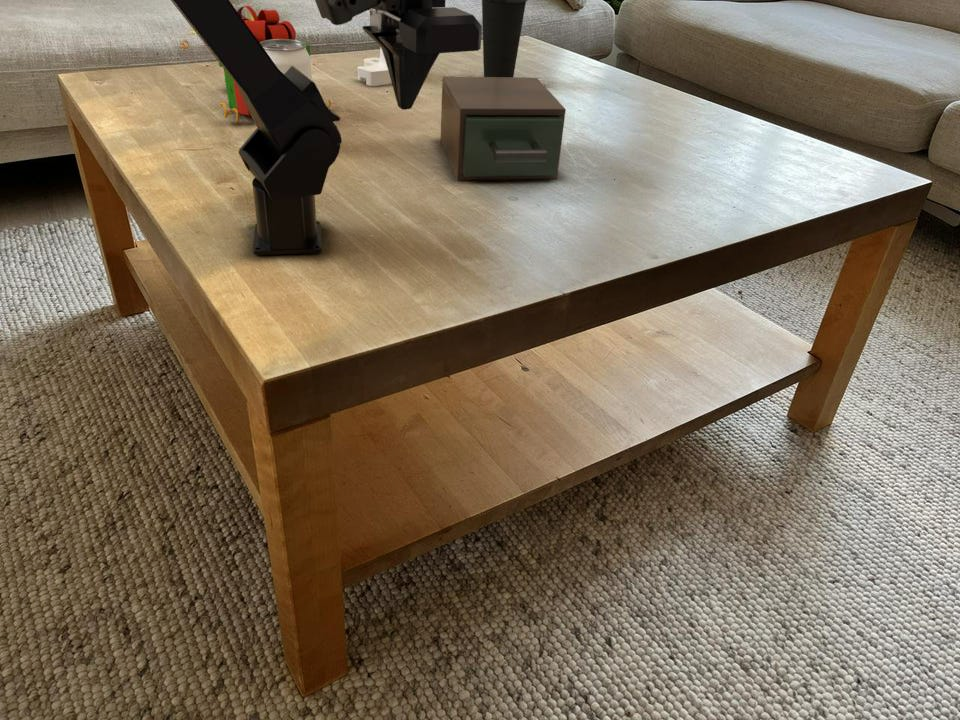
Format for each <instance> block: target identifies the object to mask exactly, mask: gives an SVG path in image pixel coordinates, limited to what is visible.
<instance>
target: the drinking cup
mask: <svg viewBox="0 0 960 720" xmlns="http://www.w3.org/2000/svg"><path fill="white" fill-rule="evenodd" d="M528 1H529V0H481V16H482V17H481V19H482V20H481V21H482V23H481V24H482V57H483V58H482V59H483V77H515V76H514V75H515V70H516V64H517V58H518V53H519V45H520V40H521V34H522V28H523V23H524V22H523V21H524V17H525V11H526V4H527V2H528Z"/></svg>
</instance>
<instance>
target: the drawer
mask: <svg viewBox="0 0 960 720" xmlns="http://www.w3.org/2000/svg"><path fill="white" fill-rule="evenodd" d="M562 122H563V120H562V119H561V118H560V117H551V116H528V117H482V115H467V117H465V135H464V155H463V175H464V176H465V177H471V176H546V175H556V171H557V163H558V154H559V146H560V138H561V130H562Z"/></svg>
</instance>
